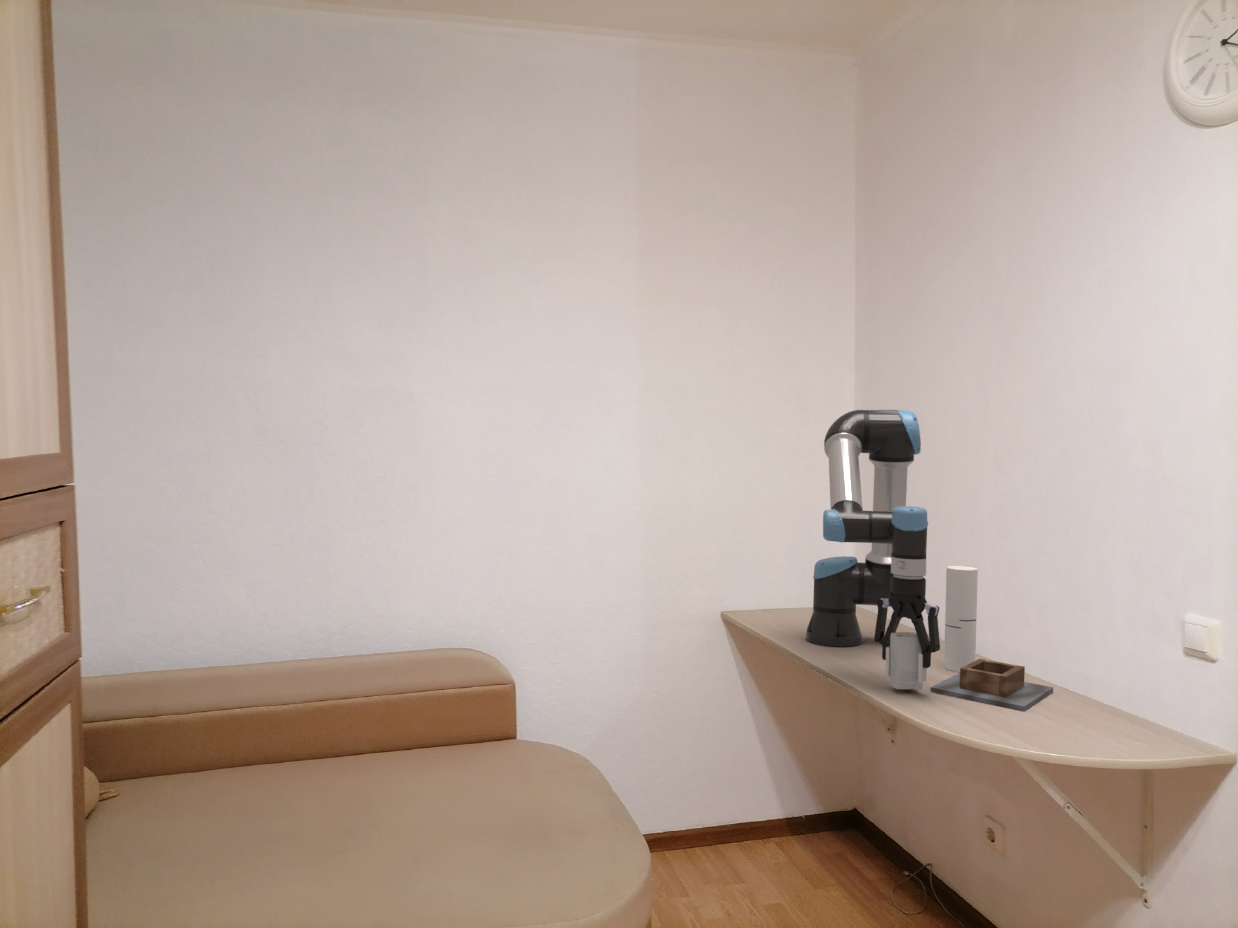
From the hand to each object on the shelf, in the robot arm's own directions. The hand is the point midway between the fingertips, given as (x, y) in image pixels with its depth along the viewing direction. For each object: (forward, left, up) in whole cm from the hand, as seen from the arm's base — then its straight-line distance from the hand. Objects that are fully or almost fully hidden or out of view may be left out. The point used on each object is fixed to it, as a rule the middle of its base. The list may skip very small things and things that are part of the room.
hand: (905, 677), depth 197 cm
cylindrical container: (+1, +29, -3) cm, 29 cm away
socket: (+14, +14, -3) cm, 20 cm away
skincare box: (0, 0, -2) cm, 2 cm away
